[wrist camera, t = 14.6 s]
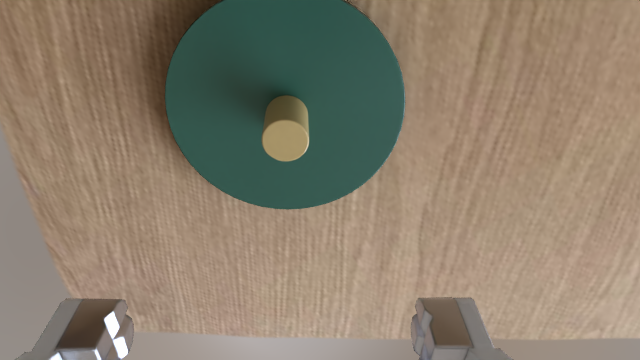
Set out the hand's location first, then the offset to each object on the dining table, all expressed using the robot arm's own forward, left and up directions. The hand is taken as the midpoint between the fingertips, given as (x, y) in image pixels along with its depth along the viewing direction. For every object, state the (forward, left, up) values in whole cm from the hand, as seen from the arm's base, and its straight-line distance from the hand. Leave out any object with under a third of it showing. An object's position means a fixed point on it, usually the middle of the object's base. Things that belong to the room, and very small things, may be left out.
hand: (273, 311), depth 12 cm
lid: (+1, +1, -17) cm, 17 cm away
